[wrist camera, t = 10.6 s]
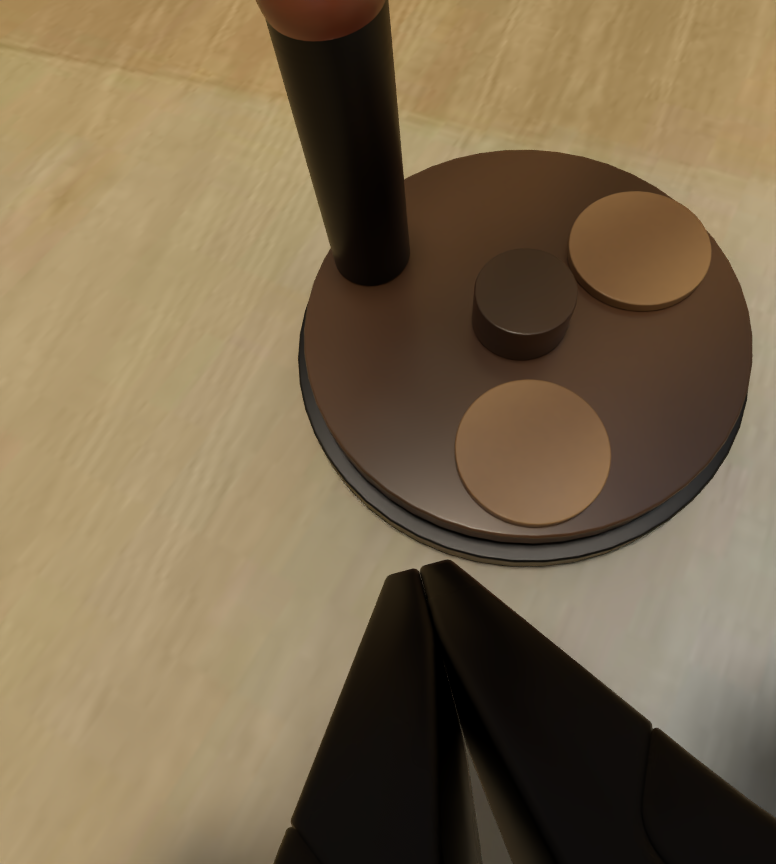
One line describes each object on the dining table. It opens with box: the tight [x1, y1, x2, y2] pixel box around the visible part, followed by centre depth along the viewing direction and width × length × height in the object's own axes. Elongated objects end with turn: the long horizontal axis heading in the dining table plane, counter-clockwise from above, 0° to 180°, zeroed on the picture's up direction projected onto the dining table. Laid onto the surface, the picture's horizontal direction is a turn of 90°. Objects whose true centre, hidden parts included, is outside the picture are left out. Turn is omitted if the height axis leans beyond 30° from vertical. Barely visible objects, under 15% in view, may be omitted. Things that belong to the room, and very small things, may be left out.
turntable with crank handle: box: [256, 0, 752, 544], centre depth 14 cm, size 14×14×11 cm
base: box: [298, 304, 748, 566], centre depth 20 cm, size 15×15×1 cm
